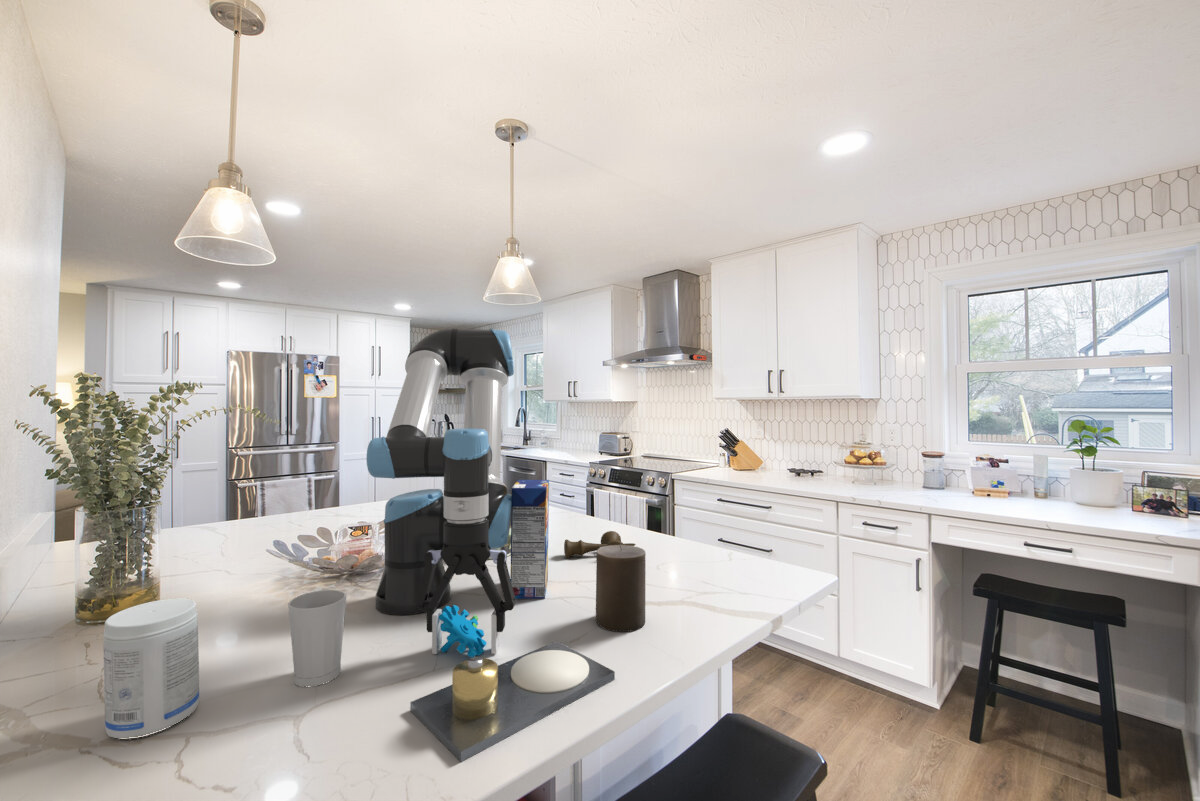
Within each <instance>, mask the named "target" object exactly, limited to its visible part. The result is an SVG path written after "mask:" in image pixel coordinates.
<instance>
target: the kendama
mask: <svg viewBox="0 0 1200 801" xmlns="http://www.w3.org/2000/svg"><path fill="white" fill-rule="evenodd" d="M620 544H621V545H628V546H635V547H636V543H626V542H625V543H623V542H622V537H621V535H620V534H619V533H618V532H616V531H615V530H614V531H612V530H608V531H606V532H604V533H602V536H601V537H600V543H592V542H586V541H583V540H582V539H579V540H578V541H570V540H568V539H565V540H564V543H563V552H564V556H565V558H566V559H569V558H570V557H573V556H580V557H583V556H584V555H586V554H588V553H591V552H597V550H598V549H599V548H600V547H604V546H611V545H620Z"/></svg>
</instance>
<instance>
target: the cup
mask: <svg viewBox="0 0 1200 801" xmlns="http://www.w3.org/2000/svg"><path fill="white" fill-rule="evenodd" d="M347 597H348V596H347V593H346V592H345V591H344V590H339V589H322V590H314V591H310V592H306V593H304V594H300V595H298V596H296V597H294V598H292V599H290V600H289V602H288V603H287V606H288V608H287V610H288V616H289V617H288V618H289V628H290V638H291V639H290V640H291V650H292V651H291V652H292V663H293V675H294V676H293V677H294V678H293V682H295V683H294V685H295V684H296V685H295V686H297V685H299V686H307V687H306V688H309V687H308V686H315V687H317V686H316V685H320V684H323V683H326V682H328V681H330V682H332V681H333V679H334V678H335V679H337V678H338V677H339V676H340V674H341V670H342V669H341V666H342V664H341V662H342V652H343V650H342V649H343V636H344V628H345V627H344V625H345V614H346V605H347ZM338 675H339V676H338ZM337 676H338V677H337ZM336 677H337V678H336ZM335 679H334V680H335ZM331 680H332V681H331ZM328 683H329V682H328ZM326 684H327V683H326ZM323 685H324V684H323ZM299 686H298V687H299ZM320 686H321V685H320Z"/></svg>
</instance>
